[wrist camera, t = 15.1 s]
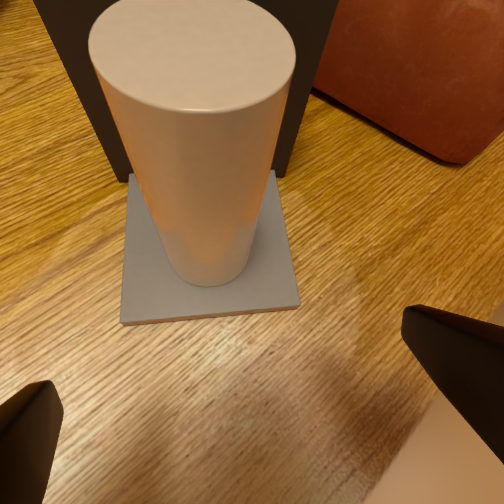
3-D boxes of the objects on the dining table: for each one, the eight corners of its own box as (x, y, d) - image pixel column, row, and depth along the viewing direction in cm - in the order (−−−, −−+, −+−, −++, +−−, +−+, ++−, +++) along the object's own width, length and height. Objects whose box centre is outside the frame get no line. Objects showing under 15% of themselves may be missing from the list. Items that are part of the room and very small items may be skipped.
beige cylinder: (192, 303, 18) (145, 142, 6) (151, 234, 20) (54, 6, 8) (266, 260, 20) (336, 72, 8) (223, 200, 21) (229, -28, 10)
